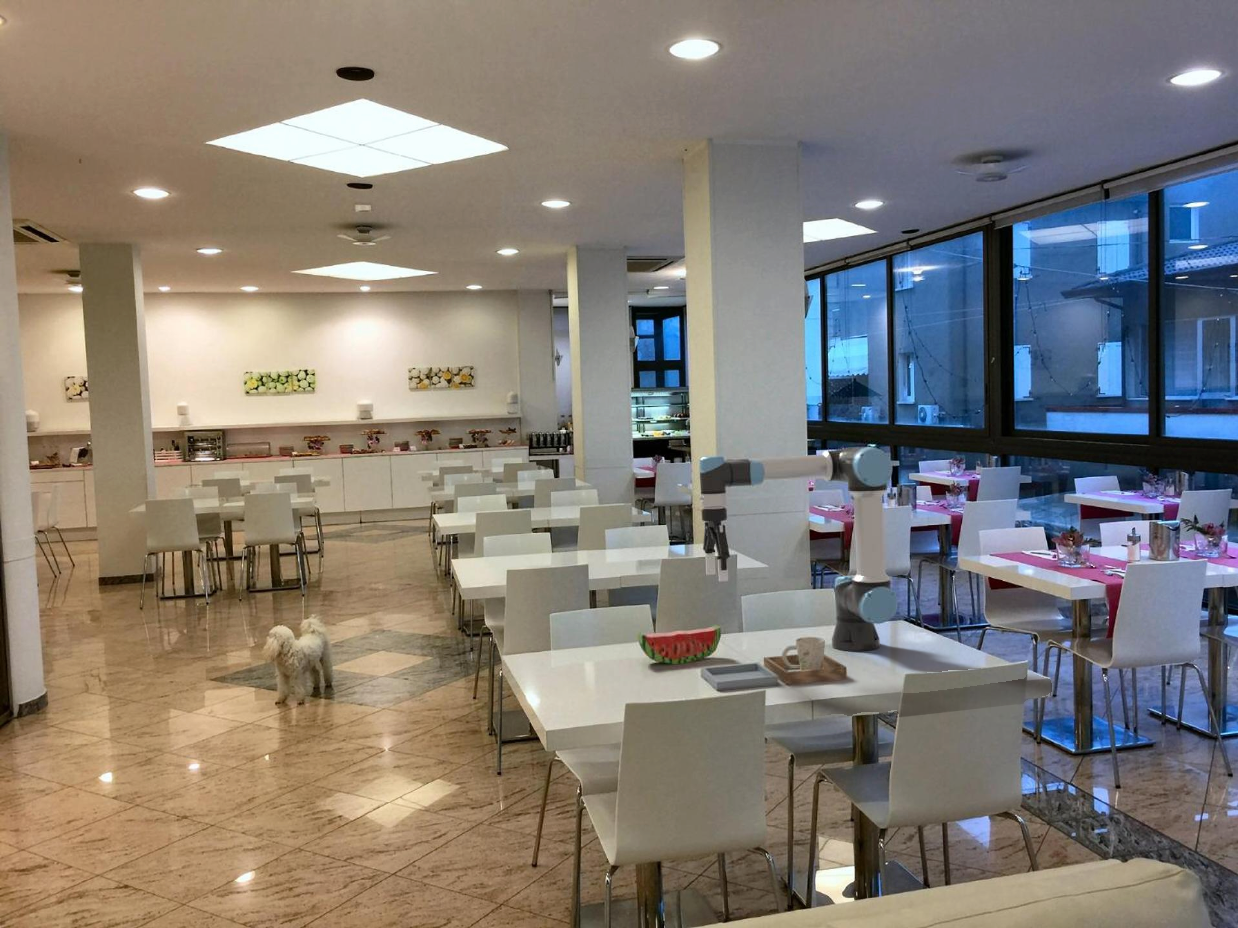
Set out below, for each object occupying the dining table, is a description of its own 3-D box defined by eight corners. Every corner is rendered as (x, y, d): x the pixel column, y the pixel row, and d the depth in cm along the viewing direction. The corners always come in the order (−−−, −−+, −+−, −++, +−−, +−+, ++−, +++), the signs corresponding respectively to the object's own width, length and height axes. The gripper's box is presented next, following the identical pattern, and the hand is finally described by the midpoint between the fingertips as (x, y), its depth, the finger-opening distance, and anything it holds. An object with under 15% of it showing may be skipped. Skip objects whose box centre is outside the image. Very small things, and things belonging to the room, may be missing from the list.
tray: (759, 670, 296) (758, 662, 296) (778, 684, 279) (778, 675, 279) (700, 676, 293) (700, 667, 293) (716, 690, 276) (716, 681, 276)
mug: (826, 677, 284) (824, 643, 284) (782, 677, 287) (780, 643, 287) (826, 670, 293) (824, 636, 292) (783, 670, 295) (781, 637, 295)
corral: (820, 663, 301) (820, 651, 301) (846, 678, 282) (846, 666, 282) (764, 668, 298) (763, 657, 298) (786, 685, 279) (786, 672, 278)
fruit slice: (643, 667, 307) (641, 635, 306) (638, 663, 313) (636, 631, 312) (723, 659, 313) (721, 627, 312) (716, 654, 319) (715, 624, 318)
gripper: (691, 505, 309) (694, 572, 310) (713, 511, 284) (716, 584, 285) (714, 503, 310) (717, 571, 311) (738, 509, 286) (741, 582, 287)
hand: (717, 577), depth 298 cm, fingers open, 13 cm apart
